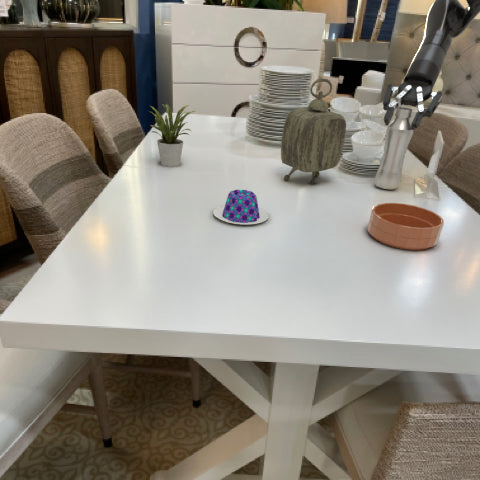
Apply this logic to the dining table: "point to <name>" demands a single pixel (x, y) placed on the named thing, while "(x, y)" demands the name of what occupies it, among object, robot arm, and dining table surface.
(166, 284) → the dining table surface
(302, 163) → the tabletop clock
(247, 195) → the pudding
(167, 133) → the house plant
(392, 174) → the plastic bottle
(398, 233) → the pan
